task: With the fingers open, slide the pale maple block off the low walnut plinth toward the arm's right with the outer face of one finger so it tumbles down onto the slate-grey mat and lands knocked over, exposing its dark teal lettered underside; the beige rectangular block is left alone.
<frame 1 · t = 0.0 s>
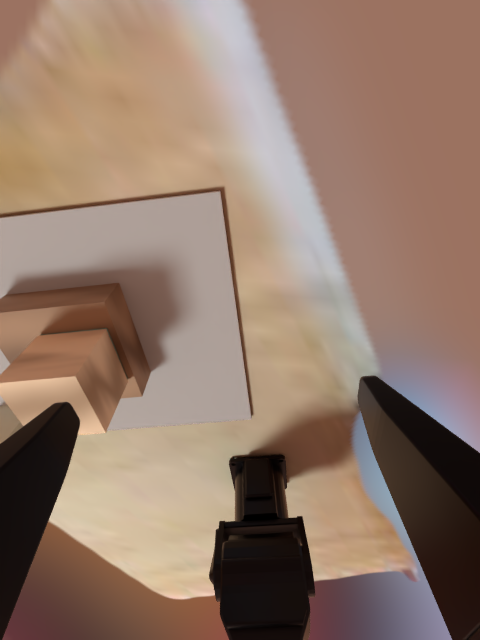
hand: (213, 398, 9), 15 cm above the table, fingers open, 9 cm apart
plinth: (86, 333, 26), resting on mat
maple block: (86, 357, 23), point 3 cm above the table, touching plinth
beige rectangular block: (32, 416, 31), resting on mat
mat: (90, 343, 26), on the table
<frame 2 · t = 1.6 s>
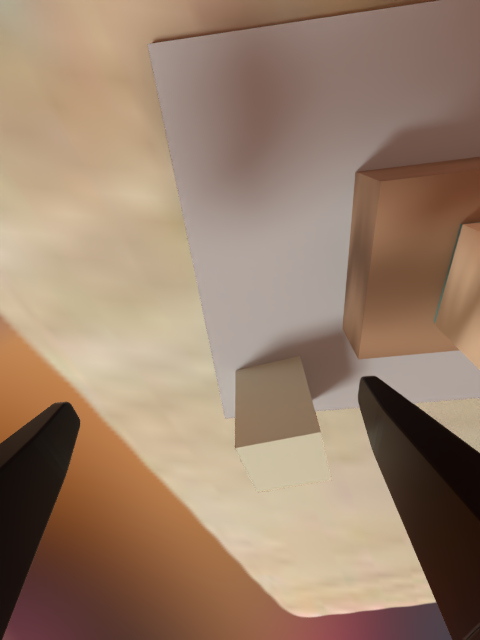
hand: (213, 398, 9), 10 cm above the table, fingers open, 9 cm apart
plinth: (427, 250, 17), resting on mat
beige rectangular block: (274, 386, 22), resting on mat
mat: (424, 266, 17), on the table
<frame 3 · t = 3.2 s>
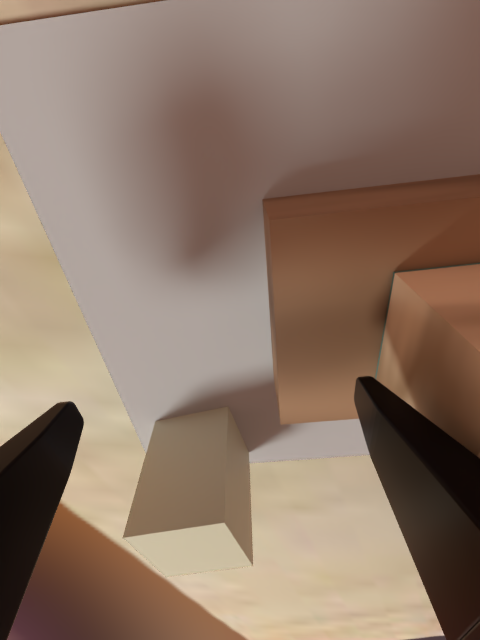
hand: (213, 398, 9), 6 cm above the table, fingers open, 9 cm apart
plinth: (367, 290, 14), resting on mat
maple block: (452, 327, 11), point 3 cm above the table, touching gripper
beige rectangular block: (204, 437, 19), resting on mat
mat: (364, 309, 14), on the table
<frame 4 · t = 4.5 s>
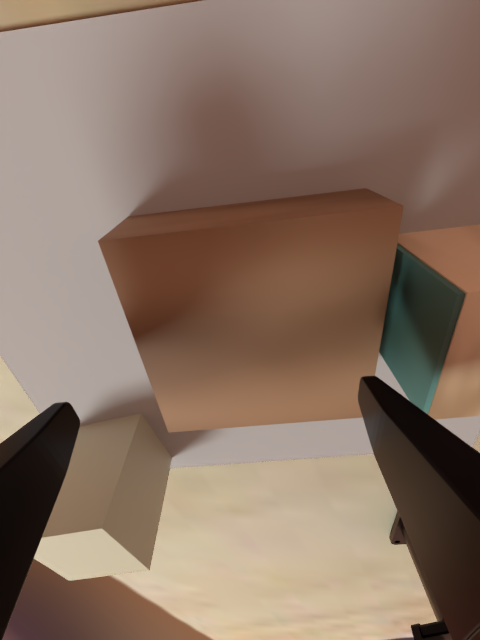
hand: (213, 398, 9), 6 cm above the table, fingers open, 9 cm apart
plinth: (254, 301, 14), resting on mat
maple block: (400, 321, 11), point 3 cm above the table, tilted 90°, touching mat
beige rectangular block: (124, 443, 19), resting on mat
mat: (256, 319, 15), on the table
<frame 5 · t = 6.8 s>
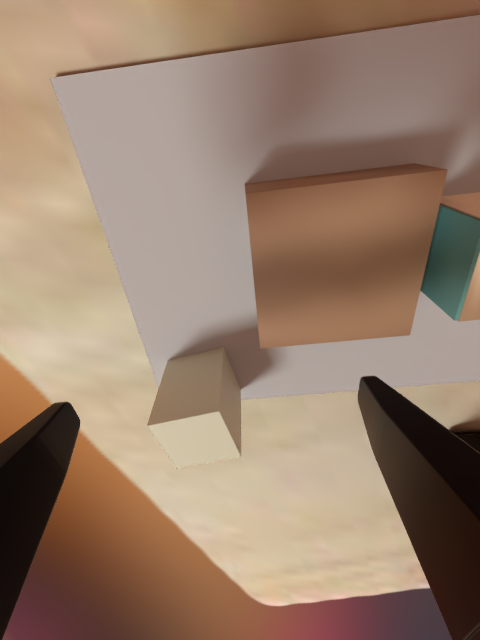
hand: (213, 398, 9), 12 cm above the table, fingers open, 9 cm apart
plinth: (323, 251, 19), resting on mat
maple block: (438, 257, 16), point 3 cm above the table, tilted 90°, touching mat
beige rectangular block: (205, 375, 24), resting on mat
mat: (322, 266, 19), on the table
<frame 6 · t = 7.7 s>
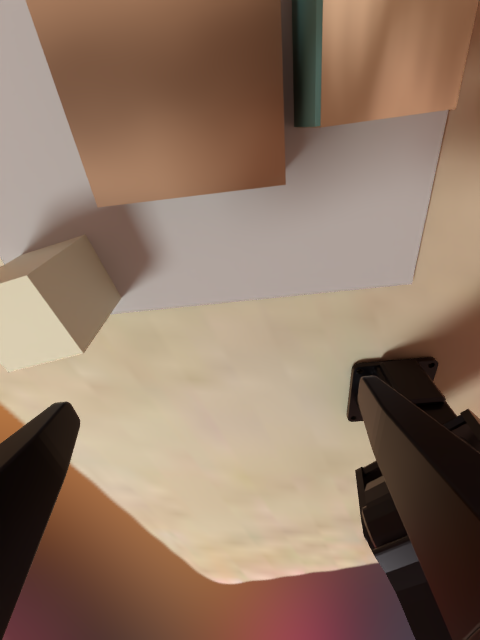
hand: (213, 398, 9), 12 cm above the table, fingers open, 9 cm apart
plinth: (181, 85, 15), resting on mat
maple block: (302, 53, 12), point 3 cm above the table, tilted 90°, touching mat
beige rectangular block: (73, 277, 20), resting on mat
mat: (185, 110, 15), on the table
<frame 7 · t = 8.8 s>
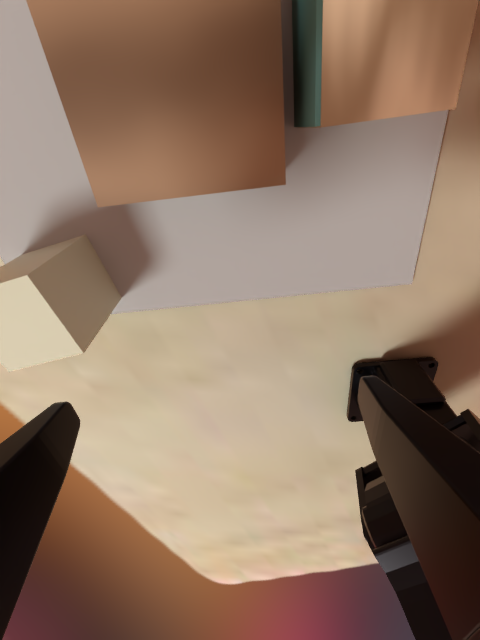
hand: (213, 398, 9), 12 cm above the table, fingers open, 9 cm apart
plinth: (181, 85, 15), resting on mat
maple block: (302, 53, 12), point 3 cm above the table, tilted 90°, touching mat
beige rectangular block: (73, 277, 20), resting on mat
mat: (185, 110, 15), on the table
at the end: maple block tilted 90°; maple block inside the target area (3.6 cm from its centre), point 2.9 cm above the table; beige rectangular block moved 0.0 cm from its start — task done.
